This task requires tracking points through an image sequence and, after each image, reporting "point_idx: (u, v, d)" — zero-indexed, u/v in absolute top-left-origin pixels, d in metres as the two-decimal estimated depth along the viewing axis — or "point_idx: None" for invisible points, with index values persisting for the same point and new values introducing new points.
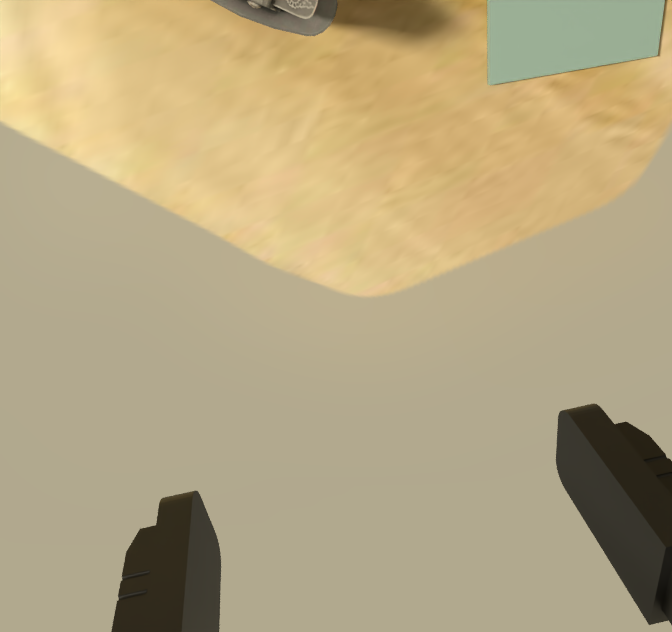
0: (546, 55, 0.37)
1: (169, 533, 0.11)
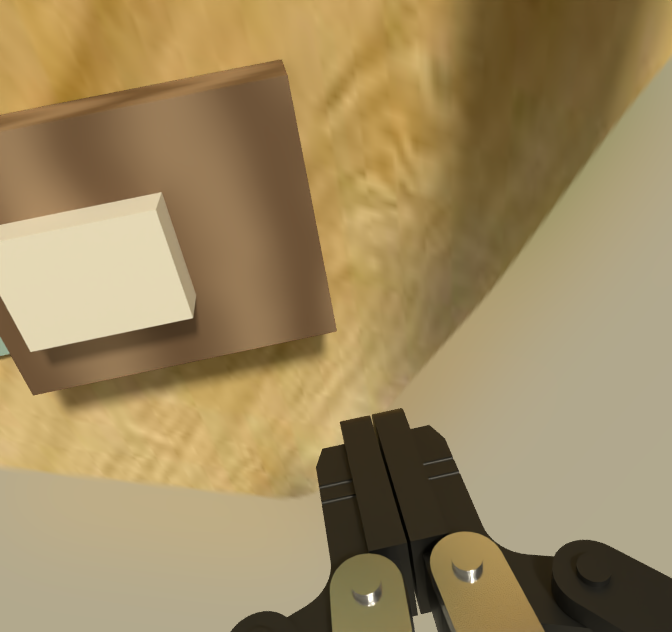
0: None
1: (359, 448, 0.12)
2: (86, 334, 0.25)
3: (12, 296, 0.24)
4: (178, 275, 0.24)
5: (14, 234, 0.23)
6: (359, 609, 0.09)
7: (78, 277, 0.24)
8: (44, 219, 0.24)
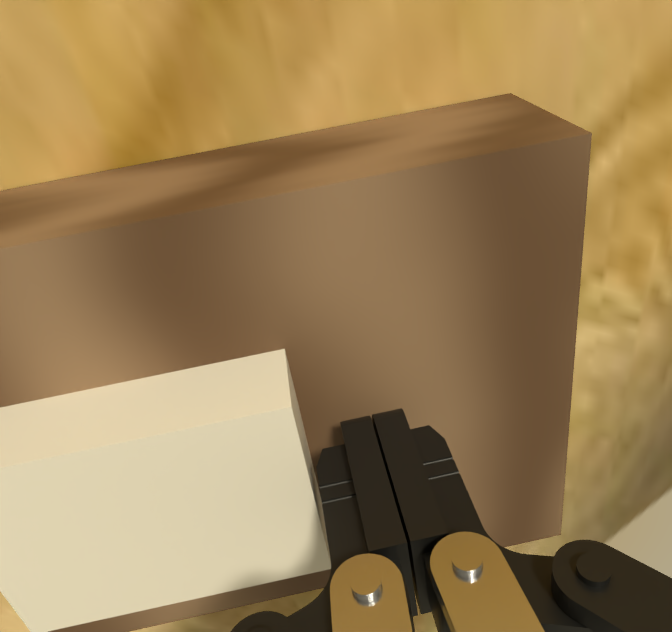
0: None
1: (359, 448, 0.12)
2: (137, 604, 0.14)
3: None
4: (317, 506, 0.13)
5: (5, 451, 0.11)
6: (359, 609, 0.09)
7: (128, 521, 0.12)
8: (64, 405, 0.12)
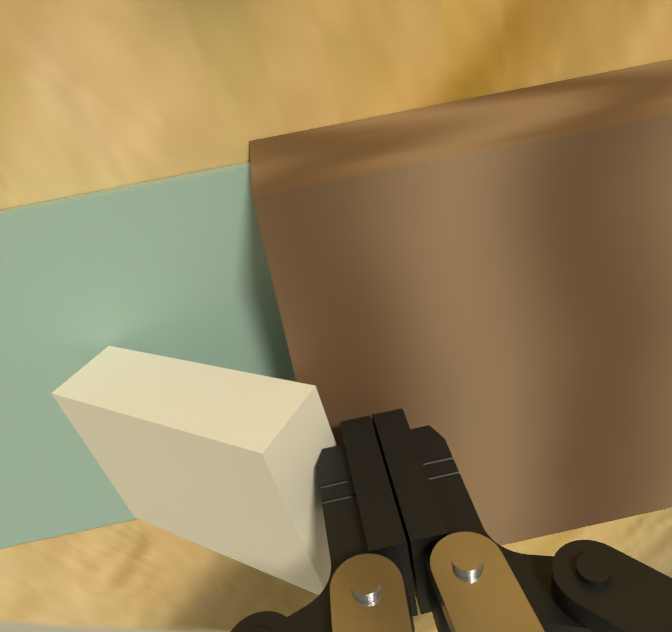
0: None
1: (359, 448, 0.12)
2: (189, 536, 0.16)
3: (102, 459, 0.16)
4: (306, 542, 0.13)
5: (98, 391, 0.15)
6: (359, 609, 0.09)
7: (168, 477, 0.15)
8: (153, 367, 0.15)
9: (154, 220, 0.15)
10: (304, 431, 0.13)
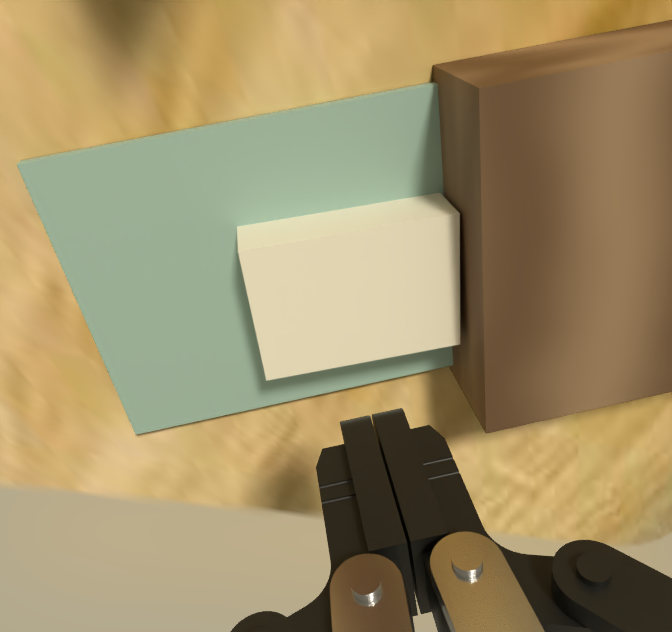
0: (99, 262, 0.20)
1: (359, 448, 0.12)
2: (336, 361, 0.21)
3: (264, 313, 0.19)
4: (458, 293, 0.20)
5: (282, 237, 0.19)
6: (359, 609, 0.09)
7: (347, 292, 0.19)
8: (305, 220, 0.20)
9: (356, 128, 0.19)
10: None
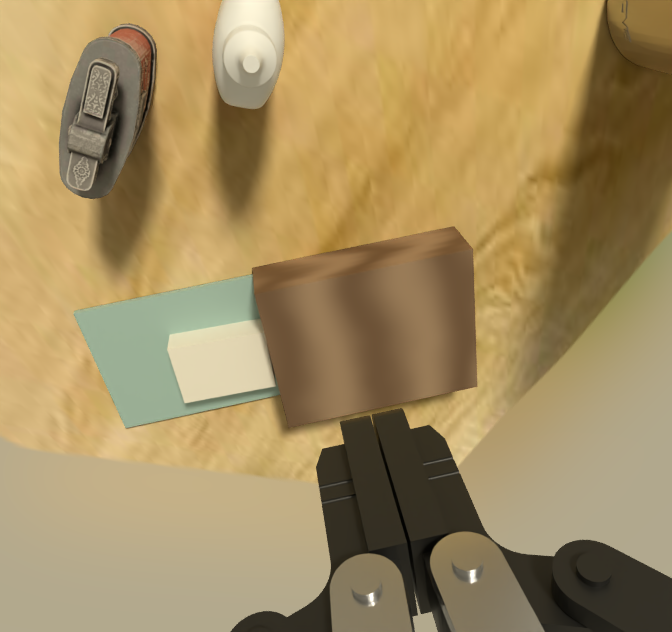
0: (107, 351, 0.44)
1: (359, 448, 0.12)
2: (216, 394, 0.45)
3: (181, 374, 0.44)
4: (271, 363, 0.45)
5: (187, 342, 0.43)
6: (359, 609, 0.09)
7: (218, 364, 0.44)
8: (200, 332, 0.44)
9: (219, 294, 0.43)
10: None
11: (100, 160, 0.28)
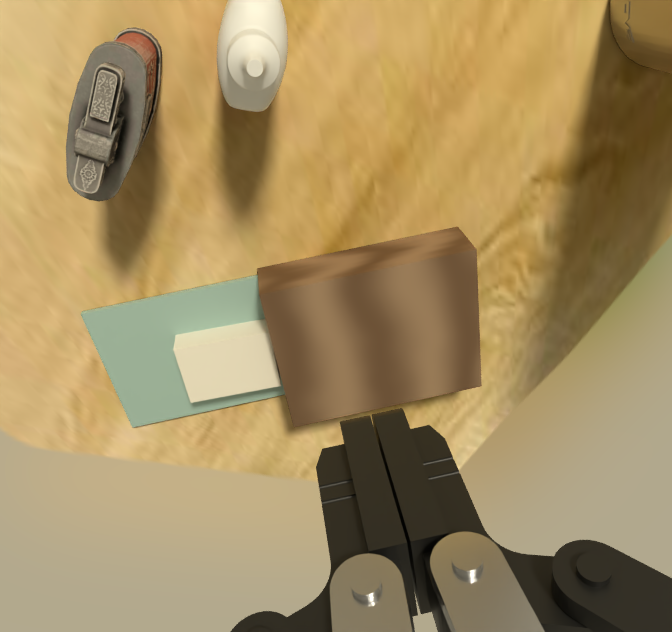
0: (114, 351, 0.45)
1: (359, 448, 0.12)
2: (222, 393, 0.46)
3: (187, 374, 0.44)
4: (276, 363, 0.45)
5: (193, 342, 0.43)
6: (359, 609, 0.09)
7: (223, 364, 0.44)
8: (205, 332, 0.44)
9: (225, 295, 0.43)
10: None
11: (106, 163, 0.29)
